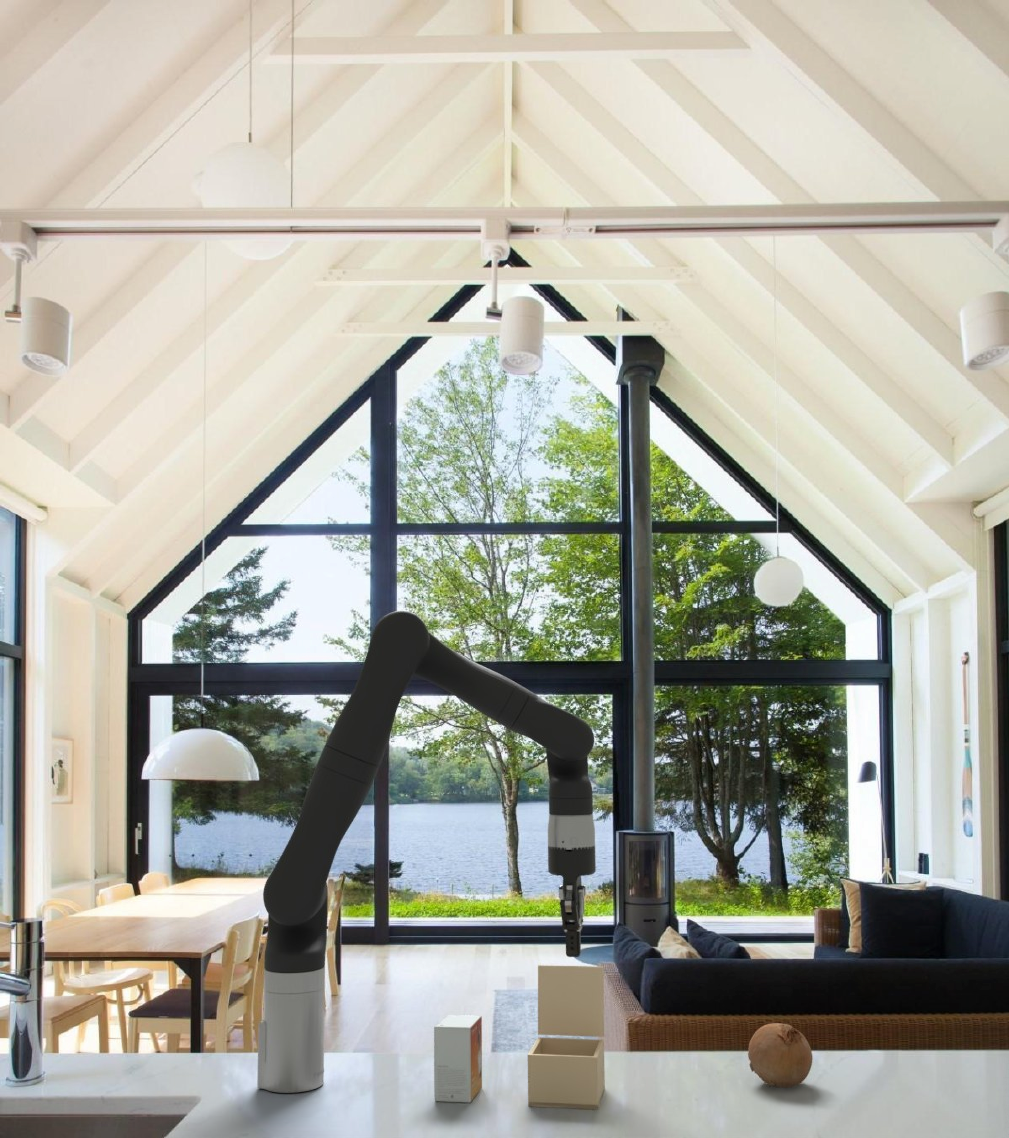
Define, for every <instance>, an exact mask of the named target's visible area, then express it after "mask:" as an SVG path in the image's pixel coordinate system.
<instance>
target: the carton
mask: <svg viewBox="0 0 1009 1138" xmlns="http://www.w3.org/2000/svg"><path fill="white" fill-rule="evenodd" d="M605 1072H606V1071H605V1039H597V1038H596V1039H595V1038H593V1039H591V1038H567V1037H565V1038H563V1037H540V1036H539V1037H537V1038H536V1040H535V1042H534V1044H533V1045H532V1047H531V1048H530V1050H529V1052H528V1053H527V1100H528V1101H527V1106H528V1107H536V1108H537V1107H538V1108H558V1109H559V1108H560V1109H561V1108H562V1109H579V1110H580V1109H581V1110H584V1109H585V1110H599V1108H600V1105H601V1102H602V1099H603V1096H604V1093H605V1090H606V1086H605V1085H606V1079H605Z"/></svg>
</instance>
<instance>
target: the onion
mask: <svg viewBox="0 0 1009 1138" xmlns="http://www.w3.org/2000/svg"><path fill="white" fill-rule="evenodd" d="M747 1051H748V1053H747V1056H748V1060H749V1067H750V1068H749V1069H750V1070H751V1073H754V1074H756V1075H757V1077H758V1078H760V1079H761V1081H762V1082H764V1084H766V1085H768V1087H769V1088H770V1087H771V1086H772V1087H775V1088H783V1089H784V1088H793V1087H796V1086H798V1085H801V1084H802V1083H803V1082H804V1081H805V1080H806V1079H807V1077H808V1075H809V1074H810V1071H811V1069H812V1065H813V1053H812V1048H811V1045H810V1044H809V1042H808V1040H807V1038H806V1037H805V1035H804V1034H803V1033H802V1032H800V1031H799V1029H796V1027H795V1028H794V1027H793V1026H792V1025H791V1024H788V1023H781V1022H780V1023H779V1022H775V1023H767V1024H764V1025H762V1026H761V1027H760V1028H757V1030H756V1031H755V1032H754V1033H753V1035H752V1037H751V1039H750V1041H749V1044H748V1050H747Z"/></svg>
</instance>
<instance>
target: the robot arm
mask: <svg viewBox="0 0 1009 1138" xmlns="http://www.w3.org/2000/svg"><path fill="white" fill-rule="evenodd" d="M372 630H373V631H372V633H371V636H370V637H371V638H370V642H369V646H368V650H367V652H366V656H365V658H364V661H363V662H364V663H363V665H362V669H361V670H360V673H359V677H358V679H357V683H356V684H355V687H354V689H353V691H352V693H351V695H350V697H349V698H348V699H347V702H346V703H345V705H344V707H343V709H342V710H341V712H340V714H339V716H338V717H337V719H336V721H335V723H334V725H333V728H332V730H331V732H330V734H329V736H328V738H327V740H326V742H325V745H324V746H323V749H322V751H321V752H320V755H319V759H318V761H317V763H316V766H315V769H314V771H313V774H312V777H311V779H310V782H309V785H308V788H307V791H306V792H305V796H304V798H303V799H304V800H303V802H302V806H301V809H300V812H299V816H298V819H297V822H296V825H295V827H294V829H293V831H292V833H291V835H290V838H289V840H288V842H287V844H286V846H285V848H284V850H283V852H282V853H281V856H280V857H279V859H278V860H277V862H276V864H275V866H274V868H273V869H272V871H271V873H270V874H269V875H268V878H267V879H266V881H265V884H264V886H263V892H262V897H263V898H262V899H263V900H262V901H263V904H264V907H265V910H266V913H267V914H268V916H267V935H266V937H267V938H266V944H265V951H264V959H263V960H264V969H263V971H264V972H263V973H264V974H263V975H264V976H263V978H264V979H263V1019H262V1020H260V1022H258V1028H257V1029H258V1030H257V1032H258V1034H257V1035H258V1037H257V1082H256V1083H257V1085H256V1087H257V1089H262V1090H266V1091H269V1092H271V1093H272V1092H274V1093H280V1094H281V1093H282V1094H283V1093H284V1094H286V1093H287V1094H289V1093H292V1094H293V1093H301V1092H308V1091H312V1090H314V1089H318V1088H320V1087H322V1086H323V1084H324V1076H325V1075H324V1074H325V1012H326V1010H325V1006H326V1005H325V1003H326V1002H325V1001H326V999H325V998H326V996H325V992H326V990H325V988H326V985H325V984H326V952H327V951H326V950H327V944H328V943H327V942H328V941H327V940H328V910H329V909H328V907H329V905H328V901H329V900H328V899H329V898H328V897H329V894H328V893H329V891H328V888H329V887H328V883H327V882H328V879H329V874H330V872H331V869H332V866H333V863H334V859H335V857H336V853H337V852H338V849H339V847H340V844H341V842H342V840H343V838H344V836H345V835H346V833H347V832H348V830H349V828H350V827H351V825H352V823H353V822H354V821H355V819H356V816H357V815H358V814H359V811H360V810H361V807H362V806H363V804H364V803H365V800H366V798H367V796H368V794H369V792H370V790H371V788H372V785H373V783H374V781H375V779H376V777H377V776H376V775H377V774H378V771H379V769H380V766H381V764H382V761H383V759H384V755H385V753H386V749H387V746H388V743H389V740H390V737H391V733H392V730H393V725H394V721H395V717H396V714H397V711H398V707H399V705H400V703H401V699H402V698H403V696H404V694H405V691H406V689H407V687H408V685H409V684H410V682H411V680H412V678H413V676H416V677H418V678H420V679H422V680H425V681H427V682H430V683H432V684H434V685H435V686H437V687H440V688H441V689H443V690H445V691H446V692H448V693H450V694H452V695H453V696H455V697H456V698H458V699H459V700H461V701H462V702H464V703H466V704H467V705H469V706H470V707H472V708H473V709H475V710H477V711H478V712H479V713H481V714H482V715H484V716H486V717H487V718H489V719H491V720H492V721H495V722H496V723H498V724H499V725H501V726H503V727H505V728H506V729H508V730H510V731H512V732H514V733H515V734H518V735H520V736H524V737H526V738H529V739H530V740H532V741H533V742H535V743H537V744H538V745H540V746H542V747H543V748H545V754H546V765H547V773H548V780H549V781H548V783H549V784H548V785H549V789H548V823H547V862H548V863H547V867H548V868H547V869H548V873H549V874H550V875H553V876H560V877H562V884H561V885H560V886H559V887H558V898H559V900H560V901H559V906H560V907H559V908H560V916H561V923H562V925H561V928H562V930H563V931H564V933H565V955H566V957H568V958H578V957H580V956H581V954H582V946H581V945H582V944H581V943H582V941H581V940H582V939H581V938H582V936H581V931H582V929H583V923H584V915H585V897H586V896H587V890H586V889H587V888H586V886H587V885H582V876H591V875H593V874H595V873H596V870H597V866H596V864H597V863H596V829H595V822H594V803H593V802H594V801H593V798H594V797H593V788H592V787H593V786H592V783H591V780H590V777H589V762H588V761H589V759H588V757H589V755H590V753H591V752H592V750H593V748H594V746H595V735H594V731H593V730H592V727H591V726H590V725H589V724H588V723H587V721H586V720H583V718H581V717H579V716H577V715H576V714H573V713H571V712H569V711H567V710H565V709H564V708H561V707H559V706H557V705H554V704H553V703H551V702H548V701H546V700H545V699H543V698H542V697H540V696H539V695H538V694H536V693H535V692H533V691H531V690H529V689H528V688H526V687H524V686H523V685H521V684H519V683H517V682H515V681H513V680H512V679H510V678H509V677H507V676H505V675H503V674H500V673H498V672H497V671H494V670H492V669H490V668H488V667H486V666H484V665H482V664H479V663H477V662H475V661H473V660H471V659H469V658H467V657H465V656H463V655H461V654H460V653H459V652H457V651H455V650H453V649H452V648H450V647H448V646H447V645H446V644H444V643H443V642H442V641H441V640H439V639H438V638H437V637H435V636H434V635H433V634H432V633H431V632H430V631H429V630H428V627H427V625H426V623H425V622H424V620H423V619H422V618H421V617H420V616H419V615H417V614H416V613H414V612H412V611H408V610H396V611H393V612H389V613H387V614H386V615H383V616H382V617H381V618H380V619H379V620H378V621H377V623H376V624H375V626H374V627H373V629H372Z"/></svg>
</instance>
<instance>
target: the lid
mask: <svg viewBox="0 0 1009 1138" xmlns="http://www.w3.org/2000/svg"><path fill="white" fill-rule="evenodd" d="M604 971H605V970H604V966H596V965H595V966H594V965H593V966H592V965H588V966H587V965H554V964H553V965H552V964H551V965H549V964H547V965H546V964H545V965H544V964H538V965H537V1035H539V1036H564V1037H565V1036H566V1037H567V1036H569V1037H570V1036H571V1037H592V1038H593V1037H595V1038H597V1037H599V1038H604V1037H605V995H604V993H605V989H604V988H605V986H604V985H605V984H604V983H605V980H604V973H605V972H604Z"/></svg>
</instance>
